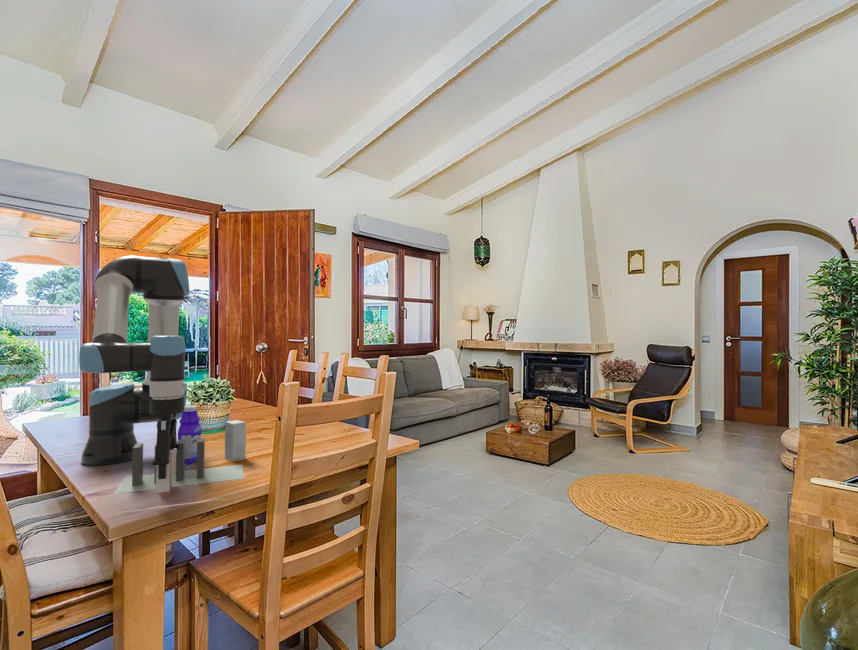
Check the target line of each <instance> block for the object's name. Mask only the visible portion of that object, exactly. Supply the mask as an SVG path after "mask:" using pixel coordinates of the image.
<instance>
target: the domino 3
mask: <svg viewBox="0 0 858 650" xmlns="http://www.w3.org/2000/svg"><path fill="white" fill-rule="evenodd" d="M176 444H179V448H175V449H176V481H183V478H184V471H186V470H185V468H186V467H185V466H186V464H185V439H184V440H178V439H177V443H176Z"/></svg>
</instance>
